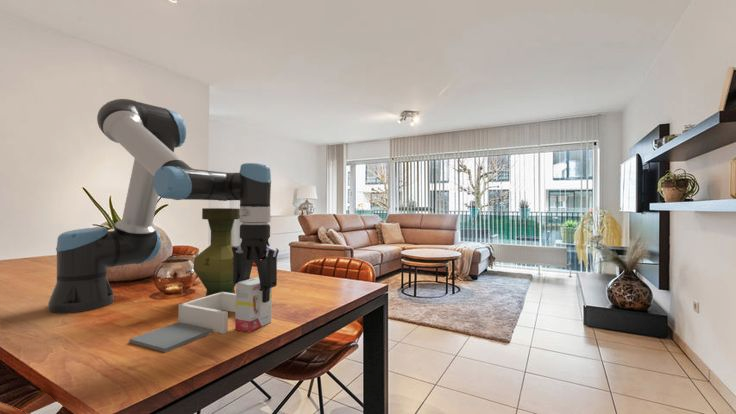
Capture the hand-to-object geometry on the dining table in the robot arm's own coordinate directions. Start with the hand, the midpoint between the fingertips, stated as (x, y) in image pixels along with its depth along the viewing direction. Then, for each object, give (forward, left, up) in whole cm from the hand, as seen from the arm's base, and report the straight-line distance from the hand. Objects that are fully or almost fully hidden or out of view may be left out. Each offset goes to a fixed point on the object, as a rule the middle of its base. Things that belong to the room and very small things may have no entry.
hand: (254, 312), depth 87 cm
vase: (-27, +14, -4) cm, 31 cm away
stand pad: (-12, -14, -3) cm, 19 cm away
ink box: (0, 0, -4) cm, 4 cm away
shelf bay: (-11, 0, -3) cm, 11 cm away
